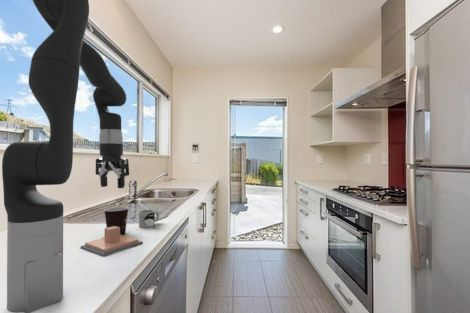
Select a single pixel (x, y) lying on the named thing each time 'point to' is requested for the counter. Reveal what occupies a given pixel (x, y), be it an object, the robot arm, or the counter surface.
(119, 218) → the coffee mug
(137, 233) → the counter surface
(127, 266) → the counter surface
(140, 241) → the mat
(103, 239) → the lid
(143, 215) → the mug
